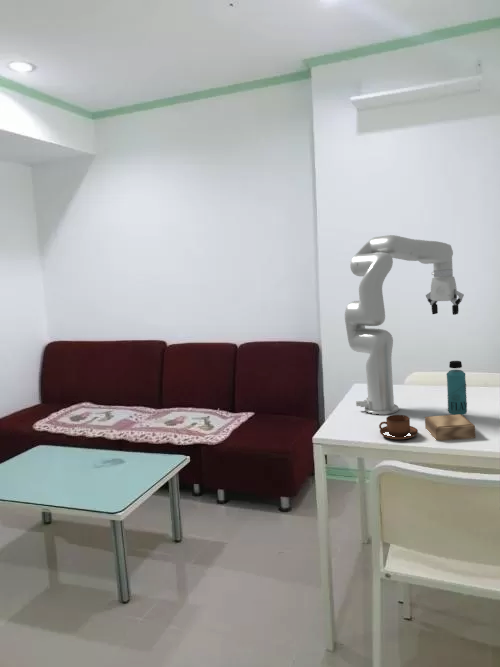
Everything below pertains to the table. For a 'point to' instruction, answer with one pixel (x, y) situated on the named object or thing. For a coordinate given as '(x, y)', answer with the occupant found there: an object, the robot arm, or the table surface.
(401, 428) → the cup and saucer
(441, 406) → the table surface
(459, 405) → the beverage bottle
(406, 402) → the table surface
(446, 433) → the walnut base
